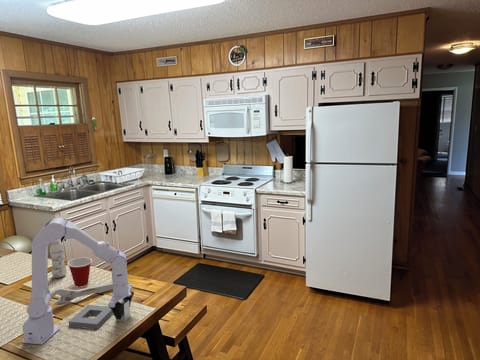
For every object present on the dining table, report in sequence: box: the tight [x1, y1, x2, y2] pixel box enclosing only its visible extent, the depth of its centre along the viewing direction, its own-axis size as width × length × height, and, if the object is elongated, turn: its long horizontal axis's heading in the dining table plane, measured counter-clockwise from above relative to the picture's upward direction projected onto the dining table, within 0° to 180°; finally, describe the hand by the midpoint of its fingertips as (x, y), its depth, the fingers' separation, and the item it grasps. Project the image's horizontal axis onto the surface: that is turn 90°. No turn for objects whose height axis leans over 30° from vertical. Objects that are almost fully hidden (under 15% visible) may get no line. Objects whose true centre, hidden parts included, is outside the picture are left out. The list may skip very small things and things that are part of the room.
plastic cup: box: [66, 257, 93, 288], centre depth 158 cm, size 11×11×12 cm
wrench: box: [50, 282, 113, 306], centre depth 146 cm, size 8×2×30 cm
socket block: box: [68, 304, 114, 330], centre depth 130 cm, size 12×12×2 cm
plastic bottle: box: [49, 239, 67, 279], centre depth 166 cm, size 6×7×20 cm
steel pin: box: [115, 299, 131, 322], centre depth 129 cm, size 4×4×7 cm
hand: (122, 314), depth 130 cm, fingers open, 6 cm apart
